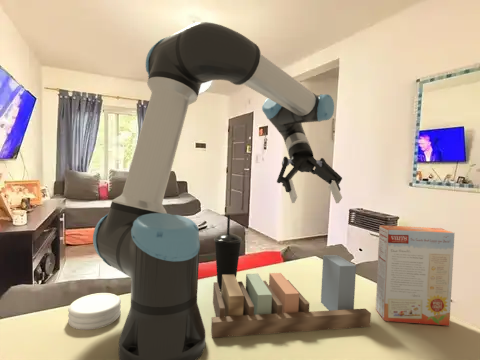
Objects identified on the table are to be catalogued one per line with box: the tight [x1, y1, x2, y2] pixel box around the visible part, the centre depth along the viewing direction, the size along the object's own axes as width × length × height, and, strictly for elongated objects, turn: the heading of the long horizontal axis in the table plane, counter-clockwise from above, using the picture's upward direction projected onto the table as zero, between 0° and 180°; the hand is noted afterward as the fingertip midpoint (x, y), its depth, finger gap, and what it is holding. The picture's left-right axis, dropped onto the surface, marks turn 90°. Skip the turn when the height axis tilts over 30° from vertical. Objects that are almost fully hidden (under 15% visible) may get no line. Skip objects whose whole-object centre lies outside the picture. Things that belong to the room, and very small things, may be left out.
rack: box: [210, 279, 372, 339], centre depth 66 cm, size 34×14×5 cm, turn 101°
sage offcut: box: [245, 273, 272, 315], centre depth 66 cm, size 3×12×7 cm, turn 11°
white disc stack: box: [67, 292, 122, 331], centre depth 62 cm, size 10×10×4 cm
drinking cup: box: [213, 214, 243, 291], centre depth 80 cm, size 8×8×20 cm
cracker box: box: [375, 224, 455, 327], centre depth 67 cm, size 14×6×21 cm, turn 84°
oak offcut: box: [220, 274, 244, 316], centre depth 65 cm, size 3×12×7 cm, turn 11°
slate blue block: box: [320, 254, 357, 311], centre depth 69 cm, size 4×8×12 cm, turn 11°
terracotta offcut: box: [268, 272, 299, 313], centre depth 67 cm, size 3×12×7 cm, turn 11°
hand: (317, 200), depth 82 cm, fingers open, 13 cm apart
